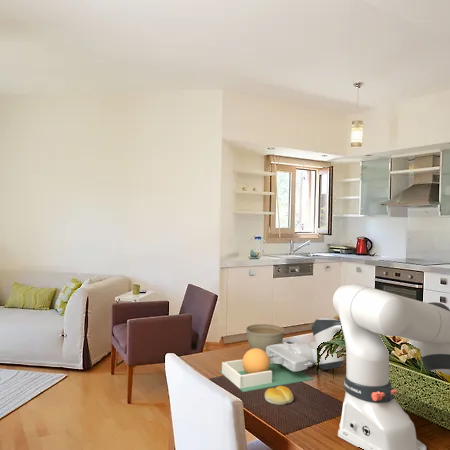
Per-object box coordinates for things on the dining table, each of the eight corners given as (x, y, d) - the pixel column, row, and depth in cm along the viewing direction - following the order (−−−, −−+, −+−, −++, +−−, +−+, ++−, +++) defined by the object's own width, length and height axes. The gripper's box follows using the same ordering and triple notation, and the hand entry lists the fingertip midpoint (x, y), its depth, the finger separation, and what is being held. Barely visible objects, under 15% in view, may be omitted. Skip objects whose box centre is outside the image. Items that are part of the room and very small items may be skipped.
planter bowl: (246, 360, 166) (246, 333, 166) (245, 347, 182) (245, 323, 182) (285, 361, 165) (286, 334, 165) (281, 348, 181) (282, 324, 181)
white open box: (271, 382, 142) (272, 371, 142) (239, 388, 137) (240, 376, 137) (251, 368, 156) (251, 357, 156) (221, 373, 151) (222, 362, 151)
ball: (262, 351, 142) (244, 374, 141) (280, 364, 146) (262, 387, 145) (249, 338, 151) (232, 360, 150) (266, 351, 155) (250, 372, 154)
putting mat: (312, 379, 146) (312, 378, 146) (243, 392, 135) (243, 391, 135) (282, 361, 164) (282, 360, 164) (219, 371, 153) (219, 370, 153)
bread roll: (260, 397, 131) (260, 385, 131) (283, 392, 135) (283, 380, 135) (273, 408, 124) (273, 395, 124) (298, 403, 128) (298, 390, 128)
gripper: (315, 373, 147) (282, 378, 141) (284, 355, 165) (254, 360, 160) (315, 355, 147) (282, 360, 141) (284, 340, 165) (254, 344, 160)
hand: (267, 360), depth 151 cm, fingers closed
